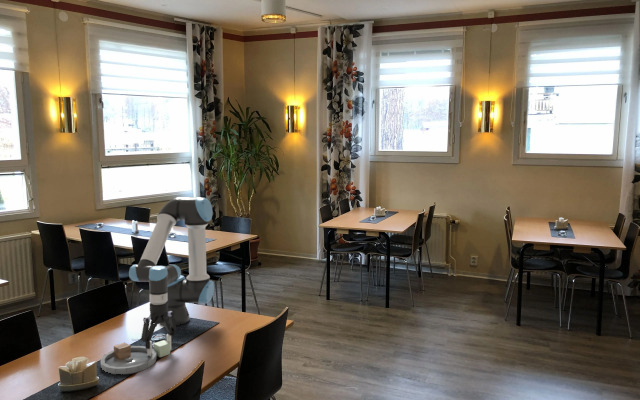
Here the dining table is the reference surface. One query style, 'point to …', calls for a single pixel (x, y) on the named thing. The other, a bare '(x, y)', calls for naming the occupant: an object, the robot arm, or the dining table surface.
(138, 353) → the tray
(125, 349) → the brown wooden cube
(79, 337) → the dining table surface
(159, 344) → the pale green cube
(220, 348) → the dining table surface
